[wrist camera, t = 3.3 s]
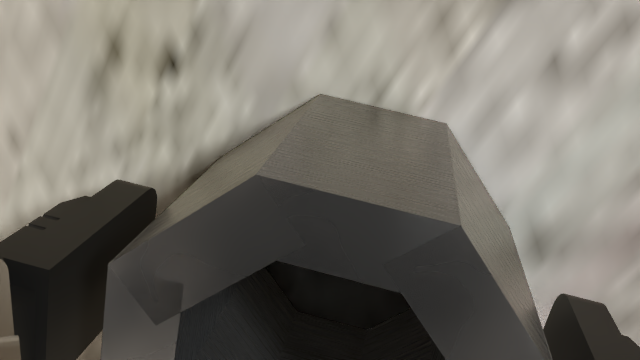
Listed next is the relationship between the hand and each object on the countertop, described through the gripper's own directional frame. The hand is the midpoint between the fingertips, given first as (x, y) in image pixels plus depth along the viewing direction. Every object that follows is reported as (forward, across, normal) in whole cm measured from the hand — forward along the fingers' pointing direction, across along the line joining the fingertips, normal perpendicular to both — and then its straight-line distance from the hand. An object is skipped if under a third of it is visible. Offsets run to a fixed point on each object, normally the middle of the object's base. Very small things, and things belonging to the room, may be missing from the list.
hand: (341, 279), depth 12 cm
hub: (+1, 0, 0) cm, 1 cm away
